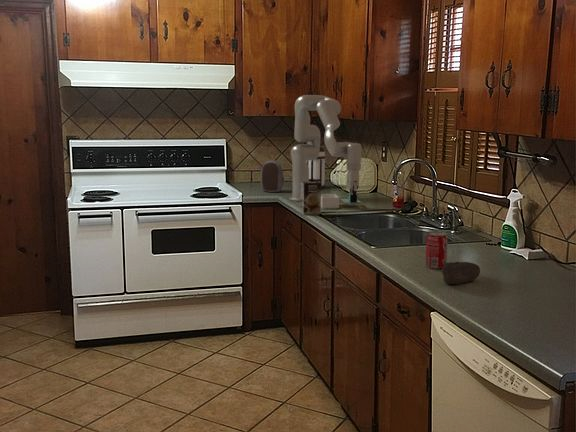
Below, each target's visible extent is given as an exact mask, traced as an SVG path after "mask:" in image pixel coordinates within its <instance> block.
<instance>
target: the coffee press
mask: <svg viewBox="0 0 576 432" xmlns="http://www.w3.org/2000/svg"><path fill="white" fill-rule="evenodd" d="M306 162H307V164H308V167H309V182H320V183H321V190H323V188H325V187H326V185H325V176H326V175H325V174H326V173H325V171H326V170H325V169H326V148H325V147H324V146H322V145H320V151H319V156H318V158H317V159H315V160H310V161H306Z"/></svg>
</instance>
